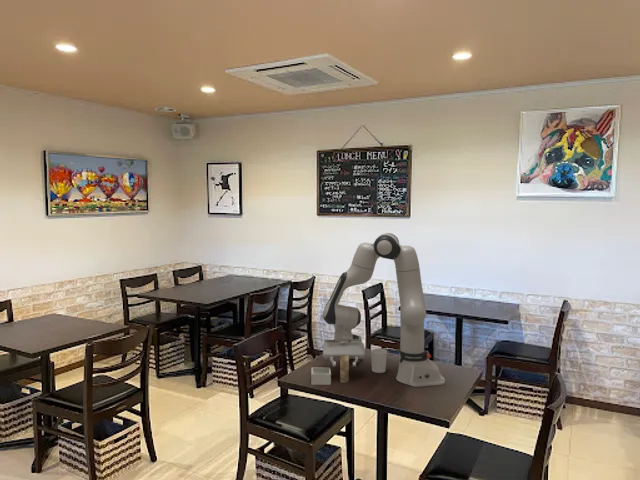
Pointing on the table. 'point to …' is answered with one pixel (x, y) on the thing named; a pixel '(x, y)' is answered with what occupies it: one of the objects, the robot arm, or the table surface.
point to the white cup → (378, 360)
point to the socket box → (320, 376)
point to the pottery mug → (352, 360)
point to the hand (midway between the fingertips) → (344, 366)
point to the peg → (344, 368)
